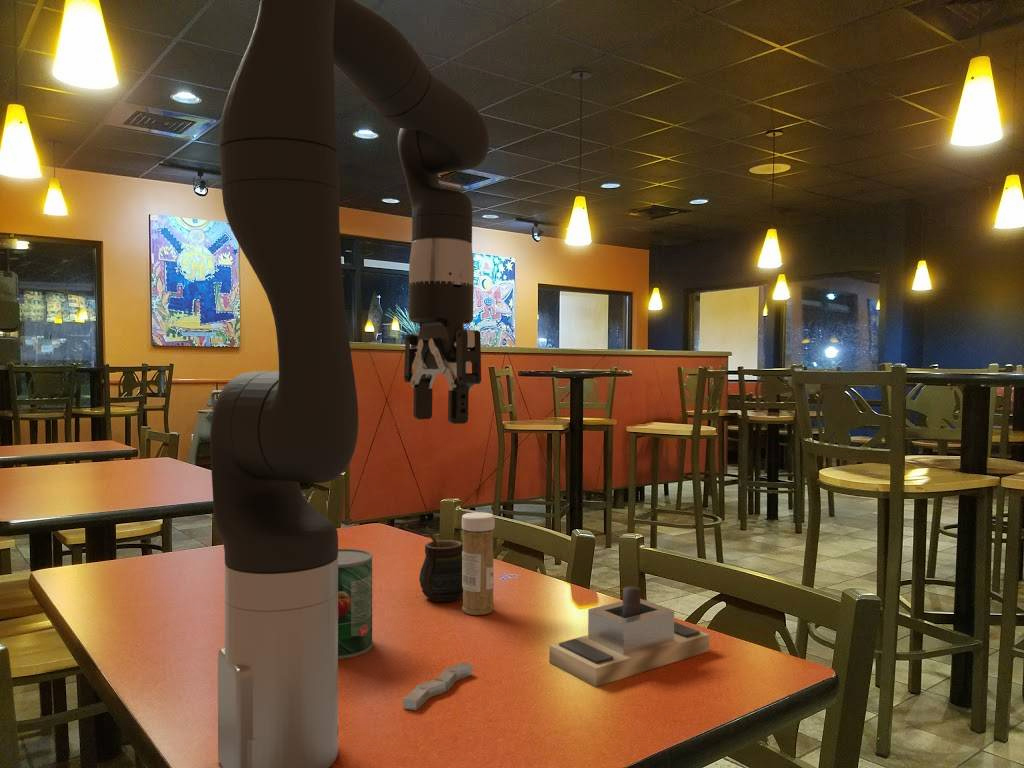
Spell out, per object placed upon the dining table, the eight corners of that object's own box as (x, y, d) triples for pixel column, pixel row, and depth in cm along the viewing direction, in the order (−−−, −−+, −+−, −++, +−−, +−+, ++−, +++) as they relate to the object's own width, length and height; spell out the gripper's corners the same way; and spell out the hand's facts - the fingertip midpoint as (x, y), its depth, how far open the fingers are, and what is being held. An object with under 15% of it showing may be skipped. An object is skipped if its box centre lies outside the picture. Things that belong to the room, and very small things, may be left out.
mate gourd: (448, 608, 104) (447, 537, 104) (407, 600, 109) (406, 531, 108) (478, 595, 110) (478, 528, 110) (439, 587, 115) (438, 523, 114)
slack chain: (414, 711, 73) (414, 701, 73) (396, 706, 74) (396, 696, 74) (475, 674, 82) (475, 665, 82) (459, 669, 83) (459, 660, 83)
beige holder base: (595, 687, 79) (596, 611, 79) (549, 662, 85) (549, 593, 85) (709, 651, 89) (710, 584, 89) (660, 631, 96) (660, 569, 96)
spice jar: (500, 612, 103) (501, 515, 103) (471, 618, 100) (472, 518, 100) (483, 603, 107) (483, 510, 106) (455, 609, 104) (455, 513, 104)
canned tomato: (378, 635, 94) (378, 548, 93) (364, 660, 86) (364, 565, 86) (316, 634, 94) (316, 547, 94) (296, 659, 86) (296, 564, 86)
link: (623, 655, 83) (623, 623, 82) (588, 638, 87) (588, 609, 87) (673, 640, 87) (674, 610, 87) (637, 625, 92) (637, 597, 92)
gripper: (386, 285, 91) (384, 418, 91) (442, 272, 79) (441, 425, 79) (440, 290, 95) (438, 417, 95) (501, 278, 83) (500, 424, 83)
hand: (439, 421), depth 87 cm, fingers open, 8 cm apart
